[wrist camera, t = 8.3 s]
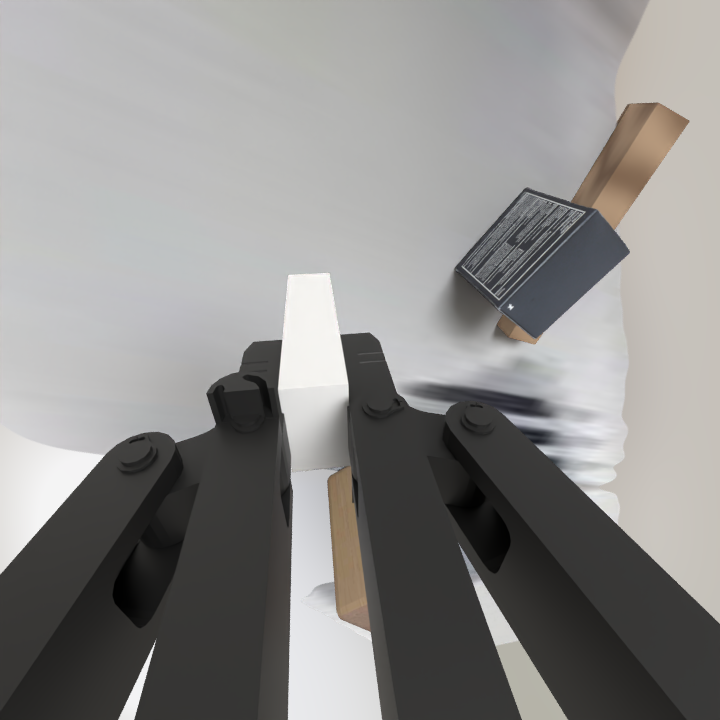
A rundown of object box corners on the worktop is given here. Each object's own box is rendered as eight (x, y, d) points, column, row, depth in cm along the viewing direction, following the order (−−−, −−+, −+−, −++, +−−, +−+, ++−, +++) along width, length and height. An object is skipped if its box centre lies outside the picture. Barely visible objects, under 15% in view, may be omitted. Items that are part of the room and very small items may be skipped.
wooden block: (407, 476, 60) (447, 611, 44) (359, 502, 62) (379, 639, 46) (375, 446, 55) (407, 587, 38) (324, 476, 57) (333, 620, 41)
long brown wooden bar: (627, 103, 33) (658, 102, 30) (657, 120, 34) (689, 121, 31) (495, 323, 45) (508, 337, 42) (520, 330, 46) (535, 344, 43)
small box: (489, 298, 42) (536, 344, 34) (452, 268, 40) (494, 310, 31) (561, 223, 38) (635, 254, 30) (526, 184, 36) (597, 205, 27)
